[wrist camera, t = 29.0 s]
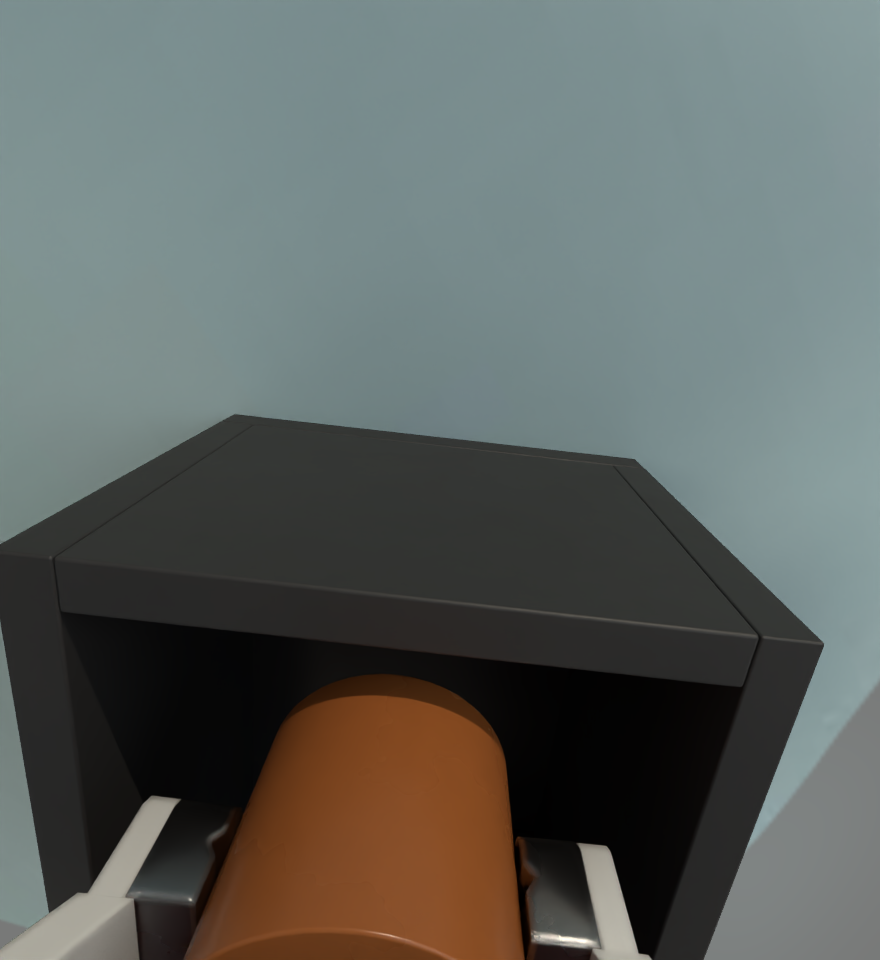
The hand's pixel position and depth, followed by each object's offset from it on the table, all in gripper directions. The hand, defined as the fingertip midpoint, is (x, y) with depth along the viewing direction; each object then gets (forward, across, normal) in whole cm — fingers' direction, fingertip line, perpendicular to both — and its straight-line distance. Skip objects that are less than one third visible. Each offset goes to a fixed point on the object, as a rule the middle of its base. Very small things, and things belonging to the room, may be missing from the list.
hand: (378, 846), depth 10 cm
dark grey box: (+11, 0, -4) cm, 11 cm away
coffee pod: (+2, 0, 0) cm, 2 cm away
